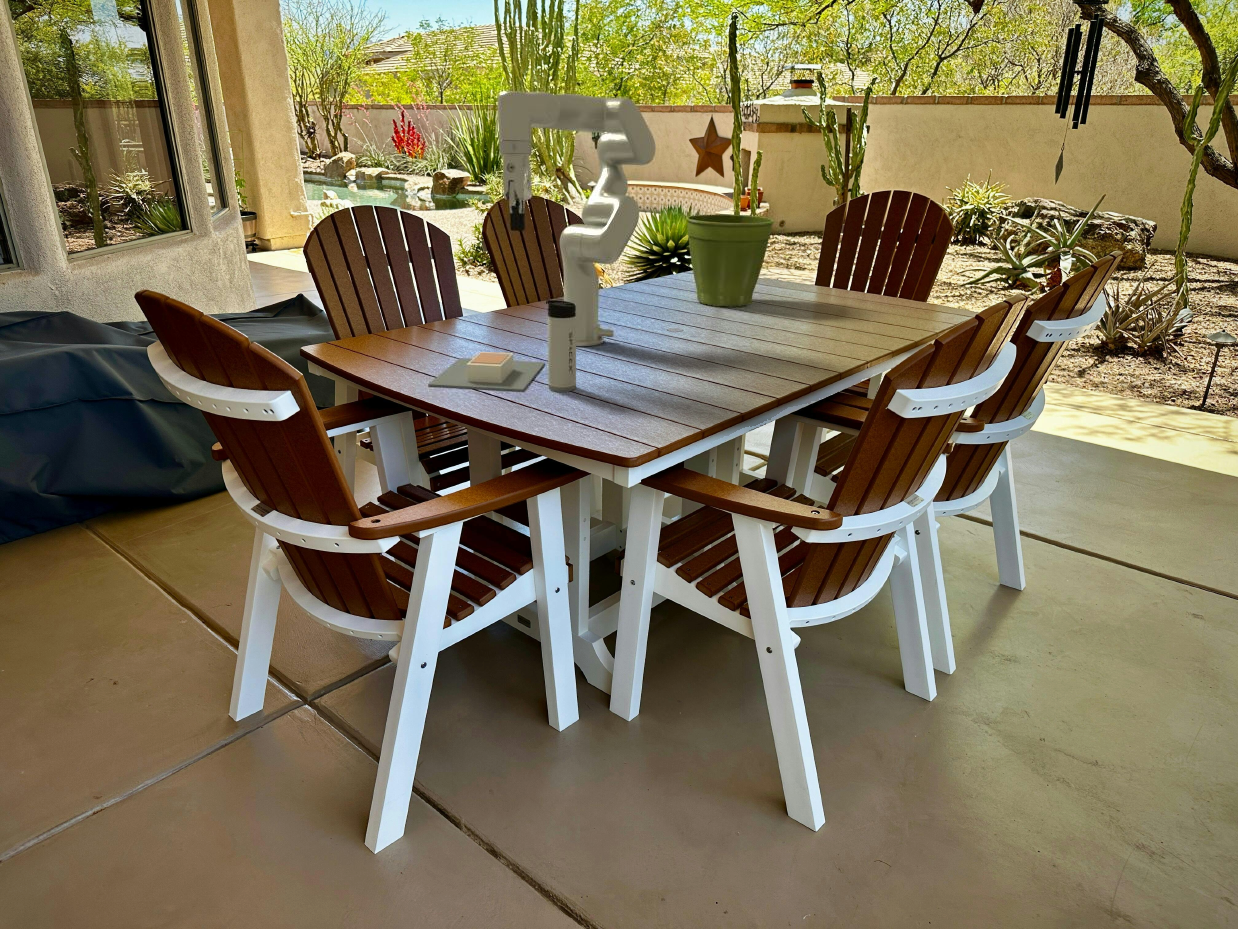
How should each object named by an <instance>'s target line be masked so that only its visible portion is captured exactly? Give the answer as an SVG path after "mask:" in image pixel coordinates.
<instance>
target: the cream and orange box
mask: <svg viewBox="0 0 1238 929" xmlns="http://www.w3.org/2000/svg"><path fill="white" fill-rule="evenodd" d="M471 359H472V360H471V361H470V362H469V363H467V364H466V366H467V381H471V382H490V383H502V382H503V381H504V380H505V378H506V377H507V376H508V375H509V374H510V373H511V372H512V371H513V370H514V362H513V361H514V353H512V352H511V353H509V352H492V351H491V352H490V351H480V352H479V353H478V354H476V356H474V357H473V358H471Z"/></svg>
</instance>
